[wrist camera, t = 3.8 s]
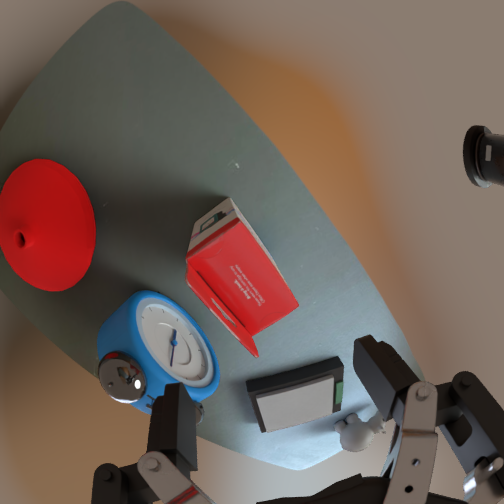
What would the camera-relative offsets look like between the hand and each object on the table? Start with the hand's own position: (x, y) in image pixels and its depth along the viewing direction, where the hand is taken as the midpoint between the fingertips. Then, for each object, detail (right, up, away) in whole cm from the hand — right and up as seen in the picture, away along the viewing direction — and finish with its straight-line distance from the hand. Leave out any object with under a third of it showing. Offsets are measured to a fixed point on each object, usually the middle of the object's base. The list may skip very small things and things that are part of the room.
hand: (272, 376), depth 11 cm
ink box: (-3, +7, +19) cm, 21 cm away
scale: (+7, -18, +30) cm, 36 cm away
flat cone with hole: (-25, +9, +15) cm, 31 cm away
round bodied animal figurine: (+22, -30, +37) cm, 52 cm away
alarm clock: (-12, -3, +22) cm, 25 cm away
